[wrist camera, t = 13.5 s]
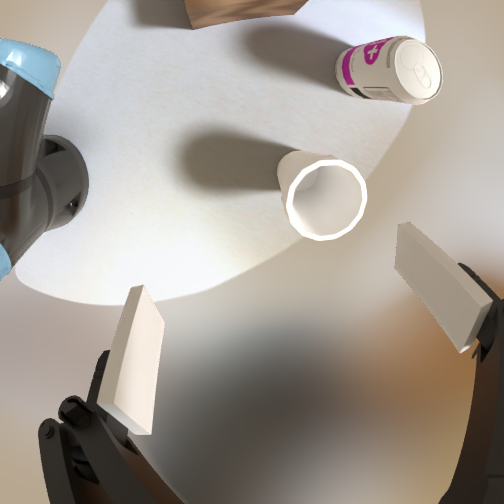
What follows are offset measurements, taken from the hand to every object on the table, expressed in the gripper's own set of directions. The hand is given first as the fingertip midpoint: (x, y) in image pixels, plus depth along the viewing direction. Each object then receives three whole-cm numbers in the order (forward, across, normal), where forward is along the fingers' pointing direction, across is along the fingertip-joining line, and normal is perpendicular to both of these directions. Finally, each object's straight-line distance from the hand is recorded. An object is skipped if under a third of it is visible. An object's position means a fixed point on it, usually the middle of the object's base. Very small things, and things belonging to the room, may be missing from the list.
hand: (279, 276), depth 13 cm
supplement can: (+29, +20, +10) cm, 37 cm away
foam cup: (+29, +8, -4) cm, 30 cm away
